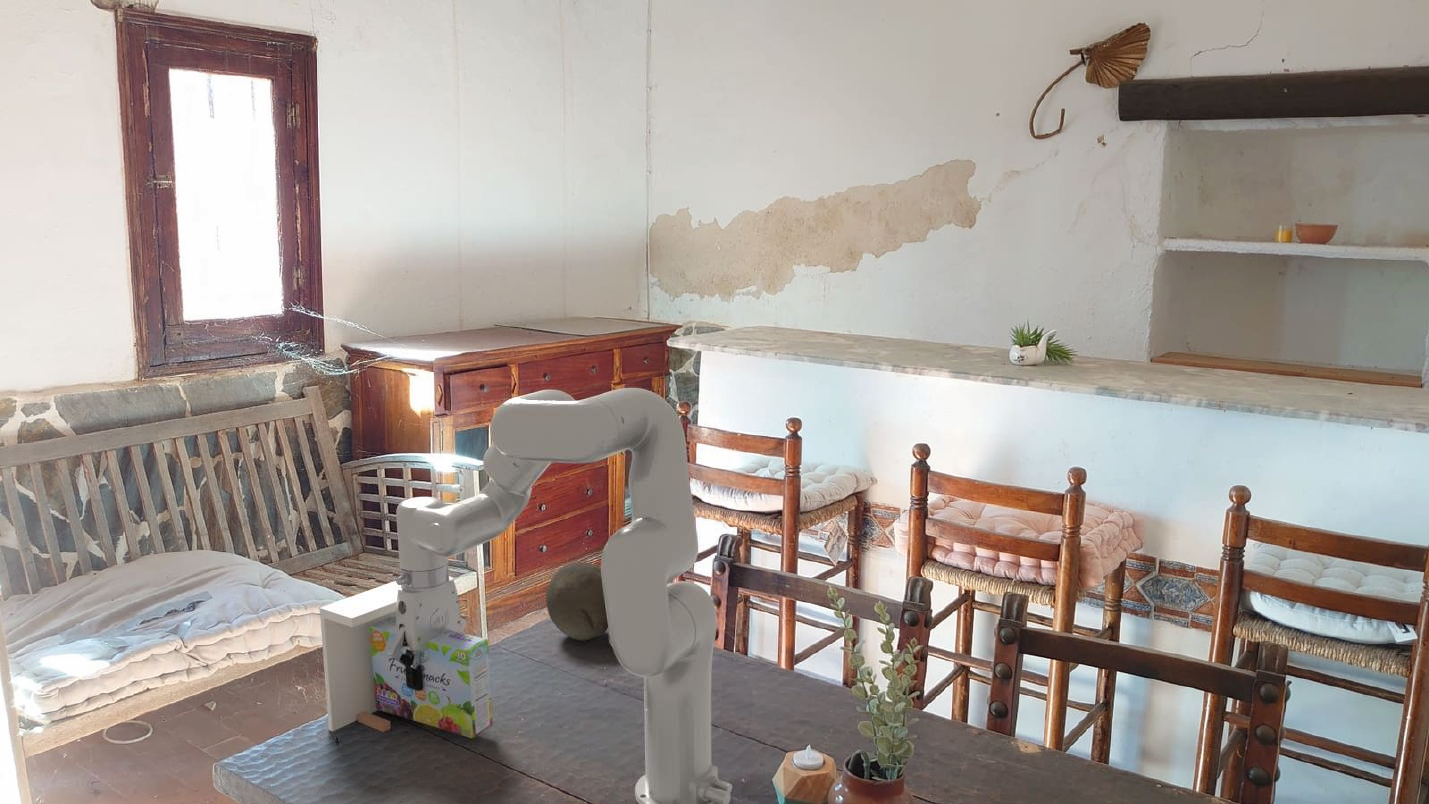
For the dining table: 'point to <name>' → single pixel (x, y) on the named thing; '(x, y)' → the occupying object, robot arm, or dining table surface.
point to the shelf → (353, 655)
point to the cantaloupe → (577, 601)
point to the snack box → (436, 681)
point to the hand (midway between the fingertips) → (430, 680)
